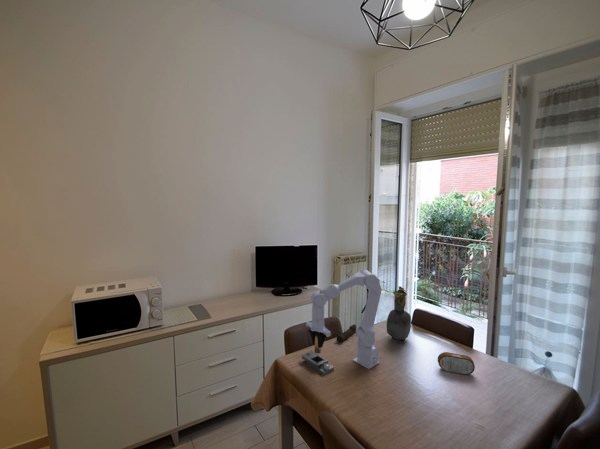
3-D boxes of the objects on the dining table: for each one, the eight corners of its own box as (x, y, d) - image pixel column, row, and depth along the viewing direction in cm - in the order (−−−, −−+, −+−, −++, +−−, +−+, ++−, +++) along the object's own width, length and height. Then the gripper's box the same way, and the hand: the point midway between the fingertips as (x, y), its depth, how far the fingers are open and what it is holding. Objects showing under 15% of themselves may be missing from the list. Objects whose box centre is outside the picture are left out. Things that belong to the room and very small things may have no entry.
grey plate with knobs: (333, 370, 137) (334, 363, 137) (323, 375, 133) (323, 369, 132) (311, 356, 148) (311, 350, 148) (301, 361, 144) (301, 355, 144)
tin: (473, 373, 135) (474, 355, 135) (474, 377, 132) (476, 359, 132) (437, 367, 140) (437, 350, 140) (437, 370, 137) (438, 353, 137)
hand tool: (342, 344, 162) (342, 336, 161) (336, 341, 164) (336, 333, 164) (359, 332, 176) (360, 324, 175) (354, 330, 178) (354, 322, 178)
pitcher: (384, 342, 163) (386, 289, 160) (394, 330, 179) (396, 281, 176) (404, 348, 157) (407, 293, 154) (413, 334, 173) (415, 284, 170)
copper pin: (322, 352, 140) (322, 335, 139) (317, 354, 138) (318, 337, 137) (317, 349, 142) (318, 333, 141) (313, 351, 140) (313, 335, 139)
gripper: (301, 315, 141) (301, 342, 142) (323, 325, 130) (322, 355, 132) (312, 311, 146) (311, 338, 147) (334, 321, 135) (333, 349, 136)
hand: (317, 345), depth 140 cm, fingers closed on copper pin, 3 cm apart
